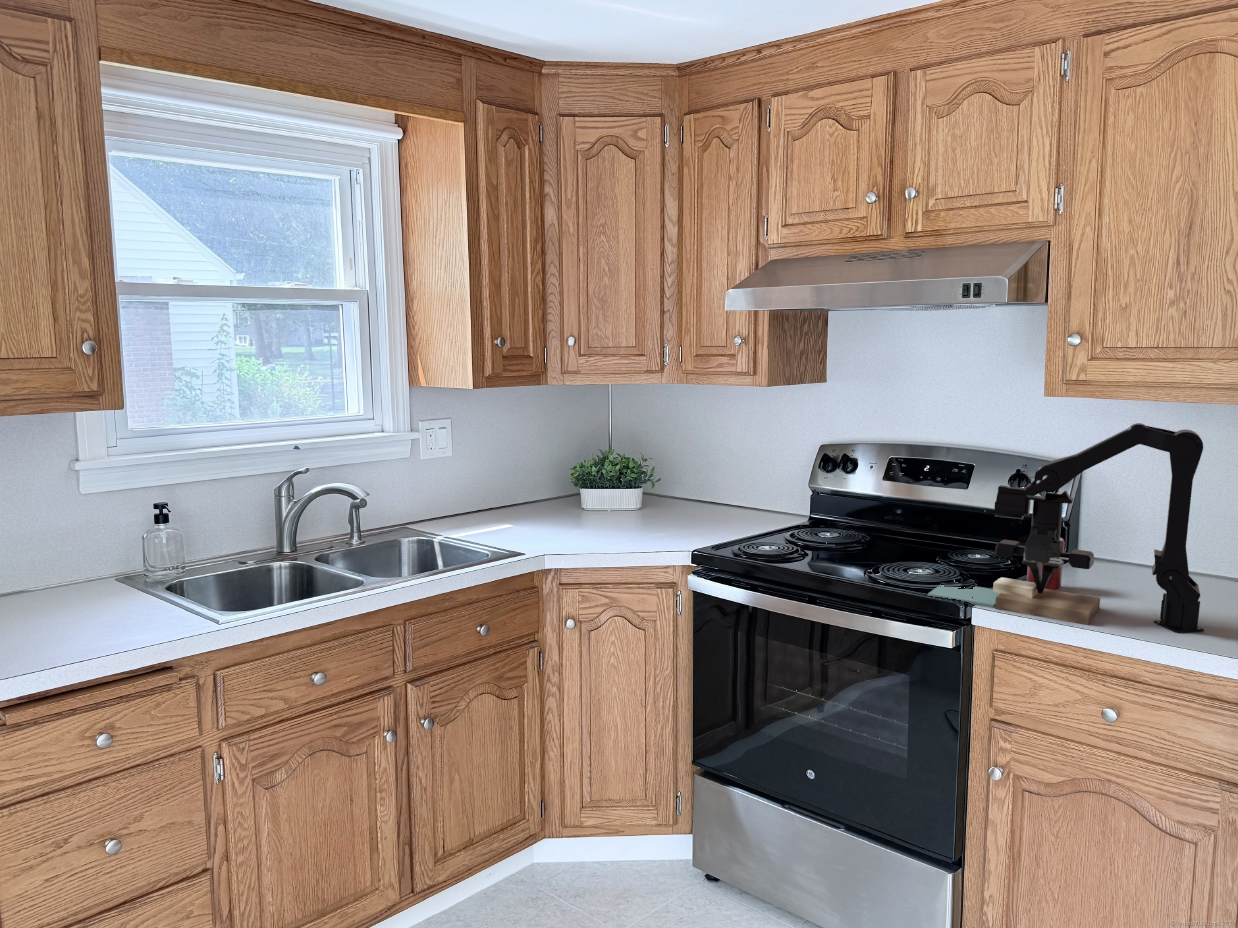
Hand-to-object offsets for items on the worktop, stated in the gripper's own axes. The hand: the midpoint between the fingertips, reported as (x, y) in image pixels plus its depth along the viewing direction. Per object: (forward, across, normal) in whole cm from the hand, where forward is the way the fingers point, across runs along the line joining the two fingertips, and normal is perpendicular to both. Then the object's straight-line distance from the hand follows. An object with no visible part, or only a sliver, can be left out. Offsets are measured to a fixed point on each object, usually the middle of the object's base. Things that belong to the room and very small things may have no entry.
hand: (1040, 592), depth 201 cm
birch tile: (+1, -5, 0) cm, 5 cm away
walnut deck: (+3, +2, 0) cm, 4 cm away
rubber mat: (+3, -15, 0) cm, 15 cm away
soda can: (+3, -3, +17) cm, 18 cm away
